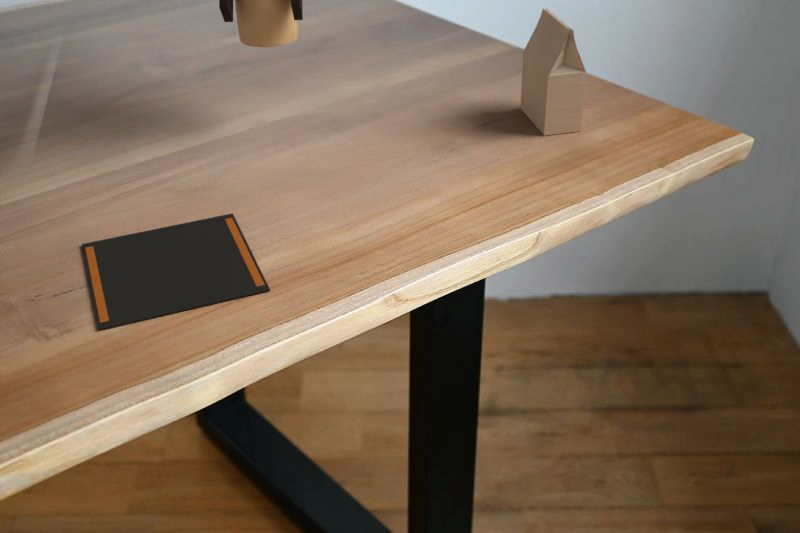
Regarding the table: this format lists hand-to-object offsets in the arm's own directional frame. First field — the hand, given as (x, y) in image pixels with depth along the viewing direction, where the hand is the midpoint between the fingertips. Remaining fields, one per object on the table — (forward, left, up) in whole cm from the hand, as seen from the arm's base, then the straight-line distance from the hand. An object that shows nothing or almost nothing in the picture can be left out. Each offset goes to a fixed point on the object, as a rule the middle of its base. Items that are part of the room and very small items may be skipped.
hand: (261, 13), depth 80 cm
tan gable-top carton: (+7, +26, -12) cm, 29 cm away
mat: (+19, -13, -12) cm, 26 cm away
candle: (-3, +1, -4) cm, 5 cm away
